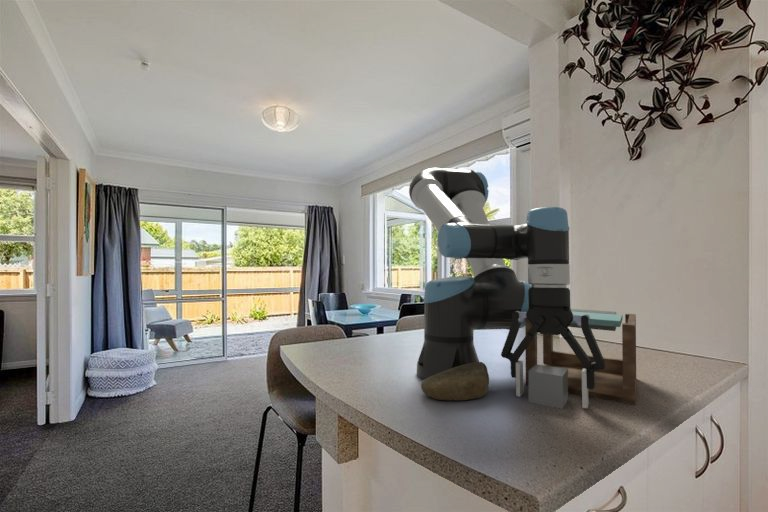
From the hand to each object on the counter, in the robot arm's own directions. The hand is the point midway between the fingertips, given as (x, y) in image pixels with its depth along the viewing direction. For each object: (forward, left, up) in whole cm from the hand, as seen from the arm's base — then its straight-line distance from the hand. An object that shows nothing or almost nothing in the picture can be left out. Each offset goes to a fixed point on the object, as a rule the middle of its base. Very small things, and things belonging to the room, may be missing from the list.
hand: (551, 400), depth 72 cm
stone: (-16, -8, -1) cm, 18 cm away
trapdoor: (+3, +21, +11) cm, 23 cm away
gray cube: (-1, 0, 0) cm, 1 cm away
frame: (+3, +17, 0) cm, 18 cm away
